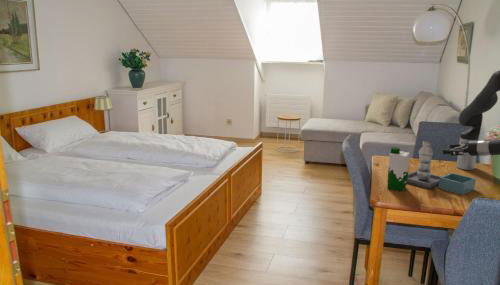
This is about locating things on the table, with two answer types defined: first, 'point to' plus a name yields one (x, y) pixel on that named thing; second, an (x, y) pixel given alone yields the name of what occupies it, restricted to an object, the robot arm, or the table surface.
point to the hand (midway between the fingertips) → (446, 149)
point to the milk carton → (398, 169)
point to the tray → (423, 183)
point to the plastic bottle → (425, 161)
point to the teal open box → (457, 183)
